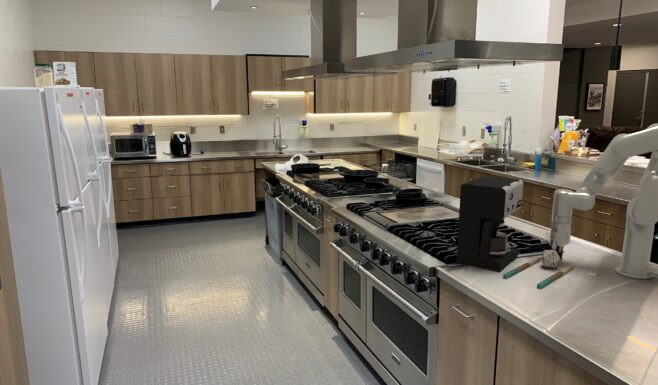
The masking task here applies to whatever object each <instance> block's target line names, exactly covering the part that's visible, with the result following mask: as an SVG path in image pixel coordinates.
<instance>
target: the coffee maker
mask: <svg viewBox="0 0 658 385" xmlns="http://www.w3.org/2000/svg"><path fill="white" fill-rule="evenodd" d="M459 188H460V194H459V196H460V197H459V210H458V227H457V228H458V229H457V230H458V232H457V243H456V244H457V247H456V248H457V249H456V264H460V265H463V266H464V265H465V266H469V267H473V268H478V269H483V270H487V271H491V272H496V273H501V272H503V270H504V269H505V268H506V267H507V266H509V265H510V264H511V263H512V262H514V260H515V259H517V258H518V252H519V250H518V248H513V247H512V248H511V247H507V244H508V234H507V233H505V232H501V231H499V225H504V224H505V222H506V221H505V219H506V218H508V217H509V216H511V215H512V214H513V213H515V212H517V211H518V210H520V209H521V208H522V203H523V195H524V194H523V191H524V182H523V180H522V179H519V178H518V179H515V178H507V177H498V176H489V175H487V176H486V175H483V176H480V177H477V178H475V179H473V180H470V181H467V182H465V183H463V184H461V185H460V187H459Z"/></svg>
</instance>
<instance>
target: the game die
mask: <svg viewBox="0 0 658 385" xmlns="http://www.w3.org/2000/svg"><path fill="white" fill-rule="evenodd" d="M542 249H543V252H542V254H540V255H541V256H540V257H539V258H538V259H540V262H542V265H543V266H544V267H543V269H544V270H545V269H546V268H555V270H558V268H557V266H559V263H560V262H561V261H562V260H563V259H564V257H562V258H560V256H559V255H558V253H557V252H556V249H555V250H553V249H545V248H542ZM561 259H562V260H561ZM560 260H561V261H560Z"/></svg>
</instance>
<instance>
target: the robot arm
mask: <svg viewBox="0 0 658 385" xmlns="http://www.w3.org/2000/svg"><path fill="white" fill-rule="evenodd" d="M648 153H651V155H650V159H649V161H648V164H647V166H646V168H645V170H644V173H643V175H642V176H641V179H640V181H639V186H640V191H639V193H638V194H637V196H636V197H633V198H632V199H631V200H630V201H629V202H628V204H627V207H626V216H625V217H626V220H625V229H624V236H623V245H622V251H621V252H622V254H621V259H620V265H618V266H616V267H615V272H616V273H618V274H619V275H621V276H623V277H627V278H632V279H636V280H640V279H641V280H647V279H648V280H649V279H651V278H653V275H655V276H657V277H658V268H654V267H652V263H650V262H651V261H650V260H651V253H652V246H653V241H654V240H653V239H654V232H655V224H657V222H658V123H652V124H651V125H649V126H648V127H646V129H644V130H643V129H642V130H641V131H640V130H639V131H637V132H633V133H619V134H617V135H616V136H614V137H613V139H612V140H611V141H610V143H609V144H608V146H607V147H606V149H605V150H604V151H603V153H602V154H601V156H600V157H599V158H598V159H597V161H596V162H595V164H594V165H593V167H592V168H591V170H590V171H589V172H588V174H587V175H586V176H585V178H584V179H583V181H582V182H581V183H580V185H579V186H578V187H577V189H576V191H575V192H574V191H573V190H571V189H566V188H558V189H555V191H554V193H553V200H552V201H553V202H552V212H551V213H552V214H551V219H550V220H551V222H552V225H551V228H550V235H549V244H550V246H551V250H555V249H556V252H557V253H558V255H559V256H560V258H563V253H564V252H563V251H564V250H565V249H564V248H565V246H567V245H568V244H570V243H571V232H572V225H571V224H572V219H573V217H572V216H573V209H574V210H579V211H589V210H591V209H593V208H594V206H595V204H596V199H595V198H596V196H597V195H598V194H599V192H600V191H601V189H602V188H603V187H604V186H605V185H606V184H607V183H608V182H609V181H611V180H612V179H614V178H615V177H616V176H617V175H618V173H619V172H620V171H621V169H622V168H623V166H624V165H625V163H626V162H627V161H628V159H629V158H631V157H632V158H633V157H635V156H640V155H644V154H648ZM562 260H563V259H561V260H560V262H561V261H562Z"/></svg>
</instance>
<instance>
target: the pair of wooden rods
mask: <svg viewBox="0 0 658 385" xmlns="http://www.w3.org/2000/svg"><path fill="white" fill-rule="evenodd" d="M538 258H540V257H538V256H536V257H535V258H533V259H531V260H528V261H527V262H524V263H522V264H520V265H518V266H517V267H515V268H513V269H511V270H509V271H507V272H505V273H503V275H502V278H503V279H504V280H508V279H509V278H511V277H514V276H515V275H517V274H519V273H521V272H522V271H525V270H526V269H528V268H531V267H532V266H534V265H536V264H538V263H539V262H541V260H540V259H538ZM573 269H574V265H570V264H569V265H568V266H565V267H564V268H561V270H558V271H557V272H555V273H554V274H552V275H550V276H548V277H547V278H545V279H543V280H542V281H540V282H538V283H537V284H536V289H539V290H542V289H543V288H545V287H547V286H548V285H550V284H552V283H553V282H555V281H556V280H559V279H560V278H561V277H563V276H564V275H566V274H568V273H570V272H572V271H573Z"/></svg>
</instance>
